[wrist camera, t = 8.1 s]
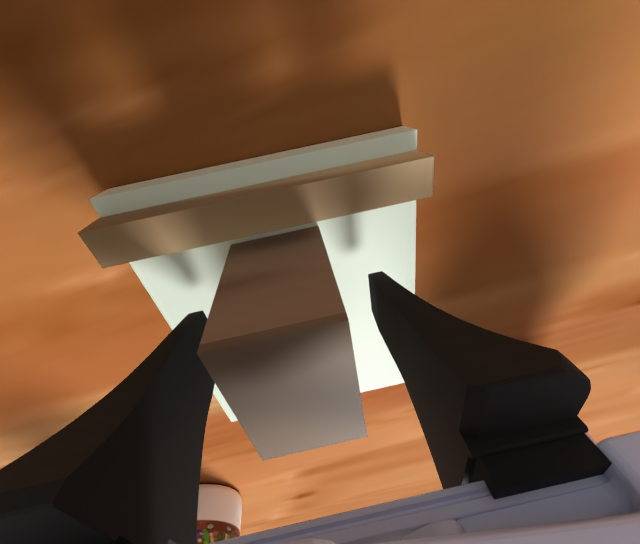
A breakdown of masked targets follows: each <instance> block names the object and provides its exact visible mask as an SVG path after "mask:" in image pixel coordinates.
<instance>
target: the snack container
mask: <svg viewBox="0 0 640 544" xmlns="http://www.w3.org/2000/svg"><path fill="white" fill-rule="evenodd" d="M241 511H242V500H241V496H240V495H239V493H238V492H237V491H236V490H234V489H232V488H230V487H226V486H222V485H214V484H200V485H199V496H198V512H197V540H196V544H209V543H213V542H218V541H222V540H226V539H231V538H235V537H239V536H240V525H241Z"/></svg>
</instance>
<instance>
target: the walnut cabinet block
mask: <svg viewBox="0 0 640 544" xmlns="http://www.w3.org/2000/svg"><path fill="white" fill-rule="evenodd" d="M197 355H198V356H199V358H200V360H201V361H202V363H203V364H204V366H205V368H206V369H207V371H208V373H209V374H210V376H211V377H212V379H213V381H214V382H215V384H216V386H217V387H218V389H219V390H220V392H221V394H222V395H223V397H224V399H225V400H226V402H227V403H228V405H229V407H230V408H231V410H232V412H233V413H234V415H235V416H236V418H237V420H238V421H239V423H240V424H241V426H242V428H243V429H244V431H245V433H246V434H247V436H248V437H249V439H250V441H251V442H252V444H253V446H254V447H255V449H256V450H257V452H258V454H259V455H260V457H261V459H262V460H263V461H264V460H268V459H272V458H277V457H281V456H285V455H290V454H294V453H298V452H303V451H307V450H311V449H316V448H320V447H324V446H329V445H333V444H338V443H342V442H346V441H351V440H355V439H359V438H364V437H367V431H366V425H365V419H364V413H363V406H362V400H361V394H360V388H359V382H358V375H357V369H356V363H355V357H354V351H353V344H352V338H351V332H350V326H349V320H348V316H347V313H346V310H345V307H344V304H343V301H342V298H341V295H340V291H339V288H338V285H337V282H336V279H335V276H334V273H333V270H332V267H331V263H330V260H329V257H328V254H327V251H326V248H325V245H324V242H323V238H322V235H321V232H320V229H319V226H314V227H310V228H305V229H300V230H296V231H291V232H287V233H282V234H277V235H273V236H268V237H264V238H259V239H254V240H250V241H245V242H241V243H236V244H232V245H231V246H230V249H229V252H228V255H227V258H226V261H225V265H224V268H223V271H222V274H221V277H220V281H219V284H218V287H217V290H216V293H215V297H214V300H213V303H212V306H211V309H210V313H209V316H208V319H207V322H206V325H205V329H204V332H203V335H202V338H201V341H200V344H199V348H198V351H197Z"/></svg>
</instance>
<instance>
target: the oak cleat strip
mask: <svg viewBox="0 0 640 544" xmlns="http://www.w3.org/2000/svg"><path fill="white" fill-rule="evenodd" d="M433 174H434V156H432V155H430V154H427V153H424V152H422V151H419V150H413V151H408V152H404V153H399V154H394V155H390V156H385V157H380V158H376V159H371V160H366V161H362V162H357V163H352V164H348V165H343V166H338V167H334V168H329V169H324V170H320V171H315V172H310V173H306V174H301V175H296V176H292V177H287V178H282V179H278V180H273V181H268V182H264V183H259V184H254V185H250V186H245V187H240V188H236V189H231V190H226V191H222V192H217V193H212V194H208V195H203V196H198V197H194V198H189V199H185V200H180V201H175V202H171V203H166V204H161V205H157V206H152V207H147V208H143V209H138V210H133V211H129V212H124V213H119V214H115V215H110V216H105V217H101V218H99V219H97V220H96V221H94V222H93V223H91V224H90V225H89V226H87V227H86V228H84V229H83V230H81V231H80V232H78V234H79V236H80V237H81V238H82V240H83V241H84V243H85V244H86V246H87V247H88V248H89V250H90V251H91V253H92V254H93V255H94V257H95V258H96V260H97V261H98V262H99V264H100V265H101V267H102V268H106V267H111V266H115V265H120V264H124V263H129V262H134V261H138V260H143V259H147V258H152V257H157V256H161V255H166V254H170V253H175V252H180V251H184V250H189V249H193V248H198V247H203V246H207V245H212V244H216V243H221V242H226V241H230V240H235V239H239V238H244V237H249V236H253V235H258V234H262V233H267V232H272V231H276V230H281V229H285V228H290V227H295V226H299V225H304V224H308V223H313V222H318V221H322V220H327V219H331V218H336V217H341V216H345V215H350V214H354V213H359V212H364V211H368V210H373V209H377V208H382V207H387V206H391V205H396V204H400V203H405V202H410V201H414V200H419V199H423V198H428V197H432V196H433Z"/></svg>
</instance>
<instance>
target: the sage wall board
mask: <svg viewBox="0 0 640 544" xmlns="http://www.w3.org/2000/svg"><path fill="white" fill-rule="evenodd" d="M413 150H417V129H414V128H409V127H405V126H400V127H396V128H391V129H386V130H382V131H377V132H372V133H367V134H363V135H358V136H353V137H349V138H344V139H339V140H335V141H330V142H325V143H320V144H316V145H311V146H306V147H302V148H297V149H292V150H288V151H283V152H278V153H274V154H269V155H264V156H259V157H255V158H250V159H245V160H241V161H236V162H231V163H227V164H222V165H217V166H213V167H208V168H203V169H198V170H194V171H189V172H184V173H180V174H175V175H170V176H166V177H161V178H156V179H152V180H147V181H142V182H137V183H133V184H128V185H123V186H119V187H114V188H109V189H107V190H105V191H103V192H101V193H99V194H98V195H96V196H94V197H92V198H90V199H88V200H89V201H90V203H91V204H92V206H93V207H94V209H95V210H96V212H97V214H98V215H99V217H100V218H101V217H105V216H110V215H115V214H119V213H124V212H129V211H133V210H138V209H143V208H147V207H152V206H157V205H161V204H166V203H171V202H175V201H180V200H185V199H189V198H194V197H198V196H203V195H208V194H212V193H217V192H222V191H226V190H231V189H236V188H240V187H245V186H250V185H254V184H259V183H264V182H268V181H273V180H278V179H282V178H287V177H292V176H296V175H301V174H306V173H310V172H315V171H320V170H324V169H329V168H334V167H338V166H343V165H348V164H352V163H357V162H362V161H366V160H371V159H376V158H380V157H385V156H390V155H394V154H399V153H404V152H408V151H413ZM314 226H319V229H320V232H321V235H322V238H323V242H324V245H325V248H326V251H327V254H328V257H329V260H330V263H331V267H332V270H333V273H334V276H335V279H336V282H337V285H338V288H339V291H340V295H341V298H342V301H343V304H344V307H345V310H346V313H347V316H348V320H349V326H350V332H351V338H352V344H353V351H354V357H355V363H356V369H357V375H358V382H359V388H360V393H361V392H365V391H370V390H374V389H378V388H383V387H387V386H392V385H396V384H400V383H405V382H404V380H403V378H402V375H401V373H400V371H399V369H398V367H397V365H396V363H395V361H394V359H393V357H392V355H391V354H390V352H389V350H388V348H387V346H386V344H385V342H384V340H383V338H382V336H381V334H380V332H379V330H378V327H377V324H376V321H375V319H374V316H373V313H372V309H371V299H370V289H369V279H368V274H371V273H375V272H380V271H382V272H384V273H385V274H387V275H388V276H389V277H391V278H392V279H393V280H395V281H396V282H397V283H399V284H400V285H402V286H403V287H404V288H406V289H407V290H409V291H410V292H412V293H413V294H415V253H416V200H414V201H410V202H405V203H400V204H396V205H391V206H387V207H382V208H377V209H373V210H368V211H364V212H359V213H354V214H350V215H345V216H341V217H336V218H331V219H327V220H322V221H318V222H313V223H308V224H304V225H299V226H295V227H290V228H285V229H281V230H276V231H272V232H267V233H262V234H258V235H253V236H249V237H244V238H239V239H235V240H230V241H226V242H221V243H216V244H212V245H207V246H203V247H198V248H193V249H189V250H184V251H180V252H175V253H170V254H166V255H161V256H157V257H152V258H147V259H143V260H138V261H134V262H129V263H130V265H131V266H132V268H133V270H134V271H135V273H136V274H137V276H138V277H139V279H140V280H141V282H142V284H143V285H144V287H145V288H146V290H147V291H148V293H149V294H150V296H151V298H152V299H153V301H154V302H155V304H156V305H157V307H158V308H159V310H160V312H161V313H162V315H163V316H164V318H165V319H166V321H167V322H168V324H169V325H170V327H171V329H172V330H173V329H174V328H175V327H176V326H177V325H178V324H179V323H180V322H181V321H182V320H183V319H184V318H185V317H186V316H187V315H188V314H189V313H193V312H198V311H202V310H203V311H204V313H205V315H206V317H207V319H208V316H209V313H210V309H211V306H212V303H213V300H214V297H215V293H216V290H217V287H218V284H219V281H220V277H221V274H222V271H223V268H224V265H225V261H226V258H227V255H228V252H229V249H230V246H231V245H232V244H236V243H241V242H245V241H250V240H254V239H259V238H264V237H268V236H273V235H277V234H282V233H287V232H291V231H296V230H300V229H305V228H310V227H314ZM213 394H214V395H215V397H216V399H217V400H218V402H219V403H220V405H221V406H222V408H223V409H224V411H225V413H226V414H227V416H228V417H229V419H230V420H231V422H233V421H238V420H237V418H236V416H235V415H234V413H233V412H232V410H231V408H230V407H229V405H228V403H227V402H226V400H225V399H224V397H223V395H222V394H221V392H220V390H219V389H218V387H217V386H216V384H215V385H214V390H213Z"/></svg>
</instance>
